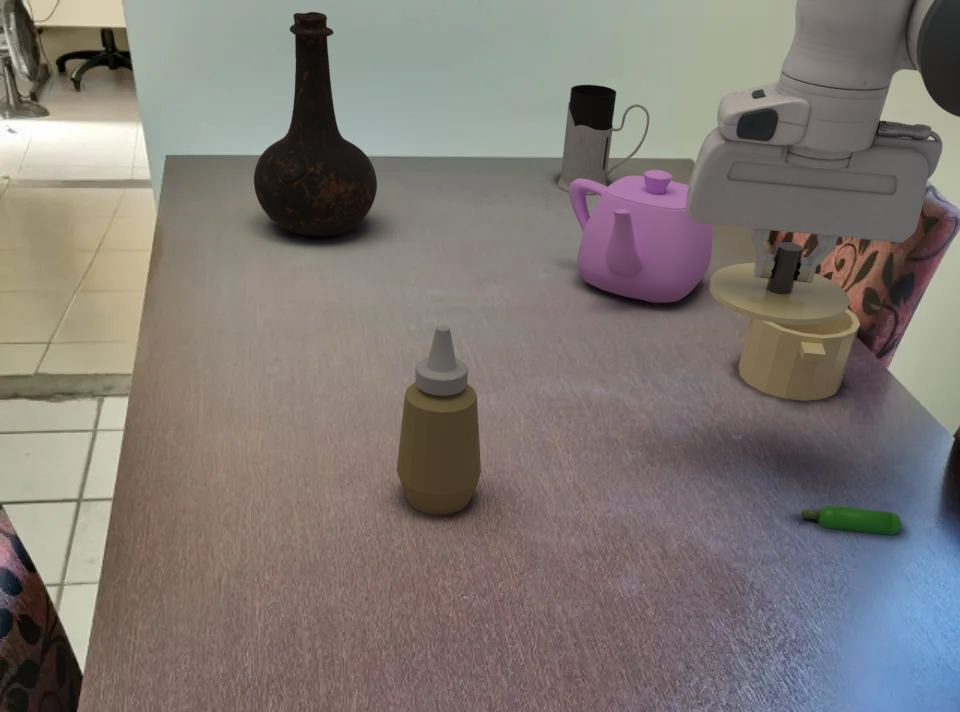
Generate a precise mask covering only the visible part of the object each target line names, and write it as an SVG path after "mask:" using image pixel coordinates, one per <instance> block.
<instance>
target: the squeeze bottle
mask: <svg viewBox="0 0 960 712" xmlns="http://www.w3.org/2000/svg"><path fill="white" fill-rule="evenodd" d="M433 335H434V336H433V339H432V343H431V347H430V351H429V355H428V357H425V358H422V359H420V360H419V361H418V362H417V363H416V366H415V367H414V368H415V369H414V371H415V373H414V376H415V380H414V381H415V382H413V383H412V384H410V385H409V386H408V387H407V388H406V391H405V393H404V398H403V399H404V400H403V409H402V416H401V417H402V418H401V427H400V437H399V445H398V456H397V462H396V463H397V464H396V473H397V476H398V479H399V482H400V483H401V486H402V489H403V491H404V495H405V497H406V499H407V503H408V504H409V505H410V506H411V507H412V508H414V509H415V510H417V511H419V512H422V513H424V514H426V515H427V514H428V515H434V516H435V515H436V516H443V515H453V514H454V513H457V512H460V511H462V510H463V509H464V508H466V507H467V506H468V505H469V503H470V501H471V498H472V496H473V494H474V492H475V490H476V487H477V485H478V483H479V481H480V477H481V474H482V464H481V463H482V461H481V447H480V427H479V426H480V425H479V408H478V407H479V406H478V395H477V393H476V391H475V389H474V387H472V386H471V385H470V384H469V383H468V381H469V380H468V378H469V377H468V376H469V368H468V366H467V364H466V363H465V362H464V361H462V360H460V359H459V358H456V354H455V348H454V344H453V338H452V333H451V328H450V326H448V325H446V324H439V325H437V326H435V331H434V334H433Z"/></svg>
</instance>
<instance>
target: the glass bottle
mask: <svg viewBox="0 0 960 712" xmlns="http://www.w3.org/2000/svg"><path fill="white" fill-rule="evenodd" d="M292 17H293V21H294V24H292V25H291V26H289V32H290V33H292V35H294V42H295V43H294V46H295V49H294V50H295V52H294V53H295V73H294V95H293V98H294V99H293V107H292V115H291V121H290V123H289V124H290V125H289V127H288V131H287V133H286V134H285V135H284V136H283V137H282V138H280V139H279V140H277V141H275V142H273V143H272V144H271V145H269V146H268V147H267V148H266V149H265V150H264V151H263V152H262V154H261V155H260V156H259V158H258V160H257V163H256V165H255V168H254V174H253V187H254V192H255V195H256V198H257V201H258V203H259V205H260V206H261V208H262V210H263V212H264V213H265V214H266V215H267V216H268V218H269V219H270V220H272V222H274V223H275V224H276V225H277V226H279V227H280V228H282V229H284V230H286V231H288V232H291V233H294V234H296V235H301V236H307V237H318V238H325V237H327V238H328V237H337V236H341V235H345V234H346V233H349V232H350V231H351V230H353V229H355V228H356V227H357V226H358V225H360V223H361V222H362V221H363V220H364V219H365V218H366V216H367V215H368V214H369V212H370V210H371V209H372V207H373V204H374V202H375V199H376V195H377V191H378V180H377V174H376V171H375V168H374V165H373V163H372V161H371V160H370V158H369V157H368V156H367V154H366V153H365V152H364V151H363V150H362V149H361V148H360V147H359V146H357V145H356V144H354V143H352V142H351V141H349V140H347V139H345V138H344V137H343V136H342V134H341V132H340V130H339V127H338V123H337V118H336V113H335V105H334V99H333V91H332V83H331V82H332V81H331V72H330V71H331V70H330V60H329V59H330V57H329V48H328V47H329V46H328V37H330V36H332V35H334V30H333V29H332V28H330V27H328V25H327V20H328V17H327V15H326V14H324V13H322V12H318V11H309V12H304V13H303V12H295V13H294V14H293V15H292Z"/></svg>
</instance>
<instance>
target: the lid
mask: <svg viewBox="0 0 960 712" xmlns="http://www.w3.org/2000/svg"><path fill="white" fill-rule="evenodd" d="M803 253H804V247H803V246H802V245H800V244H799V243H795V242H788V241H783V242H779V243H777V245H776V248H775V252H774V254H773V255H774V259H775V265H774V269H773V270H772V277H771V279H768V278H756V277H755V276H754V267H755V263H756V262H743V263H736V264H731V265H727V266H724V267H721V268H719V269H717V270H716V271H715V272H714V273H713V274H712V275H711V277H710V279H709V282H708V290H709V293H710V294H711V296H712V298H713V299H715V301H717V302H718V304H719V303H720V304H721V305H722V306H723V307H725V308H727V309H729V310H731V311H733V312H736V313H737V314H740V315H742V316H746V317H748V318H755V319H759V320H763V321H767V322H773V323H779V324H788V325H815V324H822V323H827V322H831V321H834V320H836V319H838V318H840V317H841V316H843V315H844V314H845V313H846V311H847V308H848V309H849V305H850V298H849V294H848V293H847V292H846V290H844V288H842V287H841V286H840V285H839V284H837V283H836V282H835V281H833V280H831V279H829V278H827V277H825V276H823V275H820V274H818V273H815V274H814V278H813V281H812V283H806V282H796V281H795V279H796V275H797V271H798V268H799V264H800V261H801V257H803Z"/></svg>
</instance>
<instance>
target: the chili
mask: <svg viewBox="0 0 960 712" xmlns="http://www.w3.org/2000/svg"><path fill="white" fill-rule="evenodd" d="M800 515H801V517H802V518H804V519H812V520H816V522H817V524H818V525H820V526H821V527H823V528H826V529H830V530H838V531H839V530H840V531H848V532H856V533H868V534H876V535H884V536H894V535H897V534H898V533H899V532H900V530H901V528H902V520H901V518H900V516H899V515H898V514H896V513H895V512H892V511H884V510H883V511H882V510H874V509H864V508H855V507H846V506H836V505H827V506H824V507H822V508H821V509H820V510H814V509H813V510H812V509H803V510H802V511H801V513H800Z"/></svg>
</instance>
